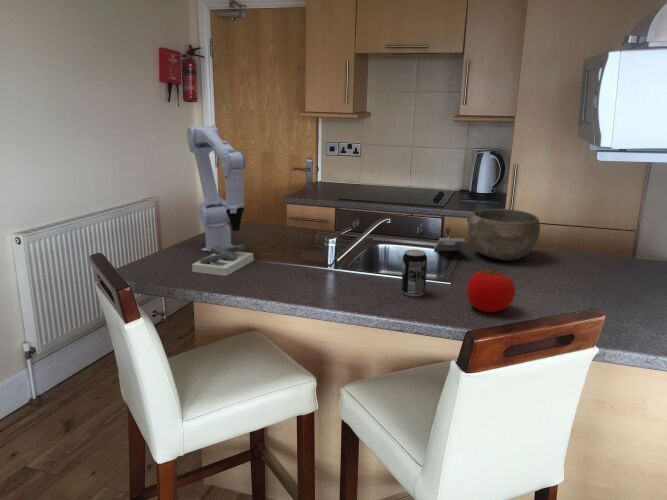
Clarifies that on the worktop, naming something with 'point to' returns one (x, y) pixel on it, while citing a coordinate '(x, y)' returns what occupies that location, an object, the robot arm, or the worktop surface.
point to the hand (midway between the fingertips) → (236, 230)
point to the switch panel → (223, 264)
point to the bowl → (503, 233)
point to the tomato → (490, 291)
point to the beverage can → (414, 273)
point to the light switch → (449, 244)
